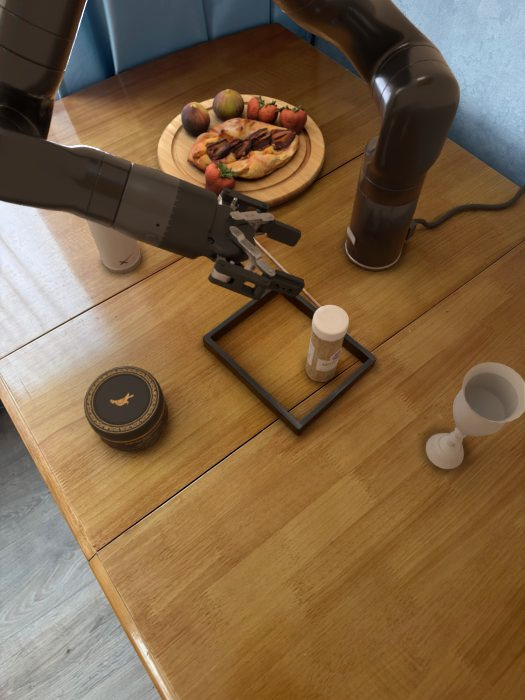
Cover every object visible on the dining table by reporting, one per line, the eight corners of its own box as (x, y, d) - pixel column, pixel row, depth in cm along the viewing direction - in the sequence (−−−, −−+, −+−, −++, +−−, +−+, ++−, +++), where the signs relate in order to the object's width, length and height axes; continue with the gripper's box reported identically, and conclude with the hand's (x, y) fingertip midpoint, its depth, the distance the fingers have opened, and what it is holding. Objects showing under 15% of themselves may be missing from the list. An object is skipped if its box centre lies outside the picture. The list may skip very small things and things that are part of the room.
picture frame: (279, 287, 85) (280, 278, 83) (374, 366, 78) (377, 358, 76) (203, 345, 80) (202, 336, 78) (297, 436, 72) (298, 429, 70)
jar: (185, 422, 73) (177, 399, 67) (127, 472, 70) (113, 451, 63) (141, 377, 77) (130, 350, 70) (83, 421, 73) (66, 397, 67)
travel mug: (136, 277, 86) (105, 181, 69) (98, 271, 87) (58, 174, 70) (148, 249, 90) (121, 150, 72) (111, 243, 90) (75, 144, 73)
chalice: (436, 416, 74) (482, 350, 58) (480, 446, 72) (540, 385, 56) (408, 455, 71) (449, 397, 55) (453, 487, 69) (509, 436, 53)
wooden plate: (269, 240, 91) (270, 204, 83) (124, 173, 99) (113, 135, 92) (353, 137, 104) (360, 98, 97) (219, 86, 113) (216, 47, 106)
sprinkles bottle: (327, 388, 76) (339, 339, 64) (299, 374, 77) (306, 323, 66) (341, 364, 78) (355, 312, 66) (313, 350, 79) (323, 297, 68)
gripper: (168, 228, 48) (320, 284, 54) (182, 146, 57) (312, 201, 63) (145, 282, 54) (286, 328, 59) (162, 199, 63) (283, 246, 68)
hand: (299, 262), depth 61 cm, fingers open, 8 cm apart
